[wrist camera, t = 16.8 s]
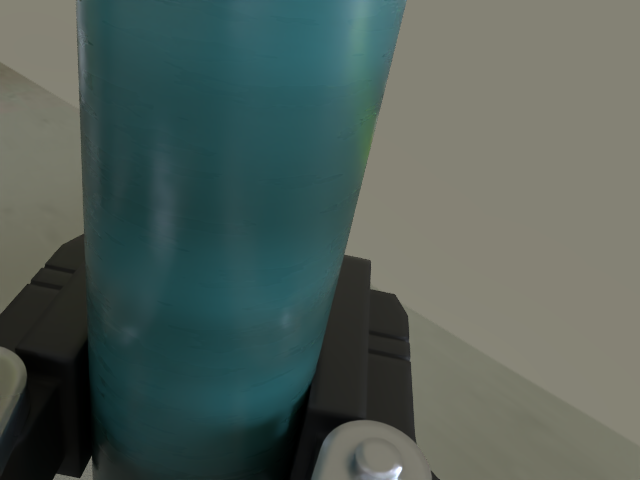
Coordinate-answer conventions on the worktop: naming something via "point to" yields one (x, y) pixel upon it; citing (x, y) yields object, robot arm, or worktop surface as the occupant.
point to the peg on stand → (218, 219)
